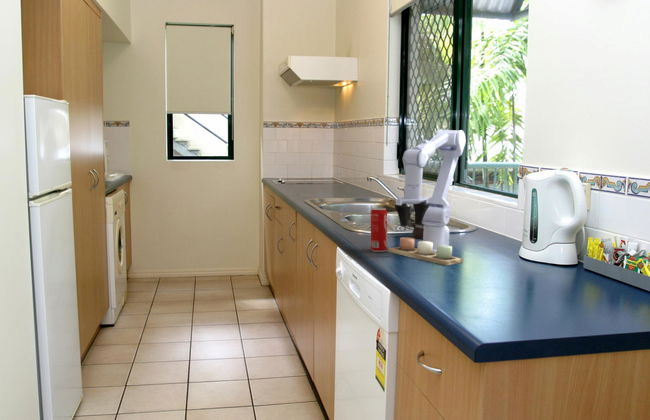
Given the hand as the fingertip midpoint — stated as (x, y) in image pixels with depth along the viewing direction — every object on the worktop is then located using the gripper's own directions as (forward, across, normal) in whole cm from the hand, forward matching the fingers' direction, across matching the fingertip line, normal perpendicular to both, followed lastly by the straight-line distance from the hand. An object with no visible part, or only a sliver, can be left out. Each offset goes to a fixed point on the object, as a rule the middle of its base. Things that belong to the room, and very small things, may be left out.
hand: (410, 225), depth 208 cm
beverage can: (+10, +4, -11) cm, 16 cm away
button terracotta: (+9, -3, -3) cm, 10 cm away
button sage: (+9, -3, +13) cm, 16 cm away
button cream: (+9, -3, +5) cm, 10 cm away
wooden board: (+10, -2, +5) cm, 12 cm away
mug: (+11, -33, -22) cm, 41 cm away
